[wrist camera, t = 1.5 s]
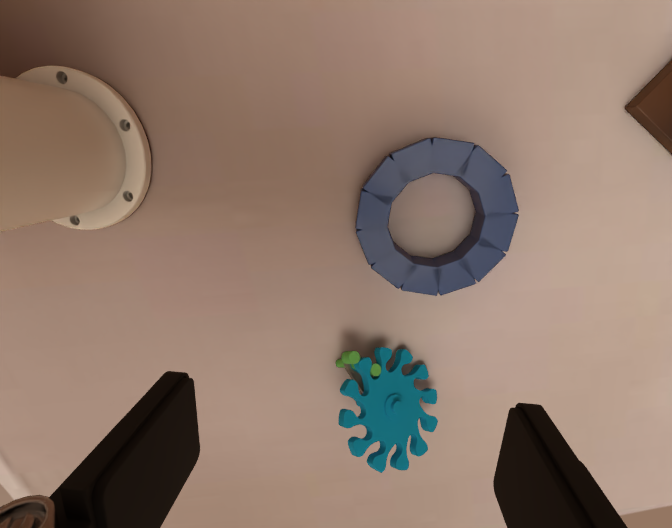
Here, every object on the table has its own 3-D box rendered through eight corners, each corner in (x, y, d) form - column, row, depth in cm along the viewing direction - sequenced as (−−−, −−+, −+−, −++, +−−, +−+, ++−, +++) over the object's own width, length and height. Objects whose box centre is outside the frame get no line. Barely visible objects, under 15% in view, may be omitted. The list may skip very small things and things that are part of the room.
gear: (460, 412, 33) (394, 505, 28) (416, 406, 38) (353, 483, 33) (396, 313, 32) (315, 389, 27) (360, 319, 37) (286, 385, 32)
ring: (329, 227, 30) (326, 233, 28) (424, 106, 27) (430, 102, 25) (434, 309, 32) (439, 321, 30) (536, 204, 29) (551, 209, 26)
